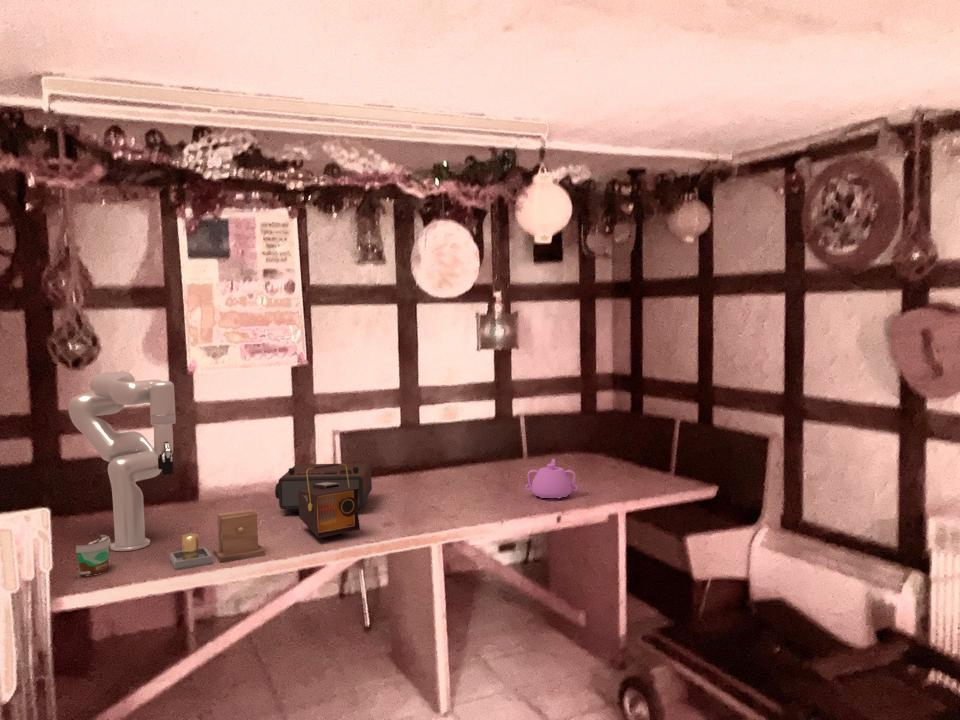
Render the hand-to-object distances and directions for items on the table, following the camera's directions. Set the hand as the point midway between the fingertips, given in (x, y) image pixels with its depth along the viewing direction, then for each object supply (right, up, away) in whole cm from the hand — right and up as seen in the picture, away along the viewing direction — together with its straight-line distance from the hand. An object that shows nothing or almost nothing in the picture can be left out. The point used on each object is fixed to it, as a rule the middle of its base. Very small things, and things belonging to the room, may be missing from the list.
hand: (165, 471), depth 253 cm
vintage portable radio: (+48, -26, +24) cm, 59 cm away
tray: (+10, -28, -4) cm, 30 cm away
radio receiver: (+40, -24, +62) cm, 77 cm away
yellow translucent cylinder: (+10, -28, -4) cm, 30 cm away
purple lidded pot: (+133, -21, +74) cm, 154 cm away
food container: (-16, -30, -12) cm, 36 cm away
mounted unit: (+23, -28, +3) cm, 36 cm away
